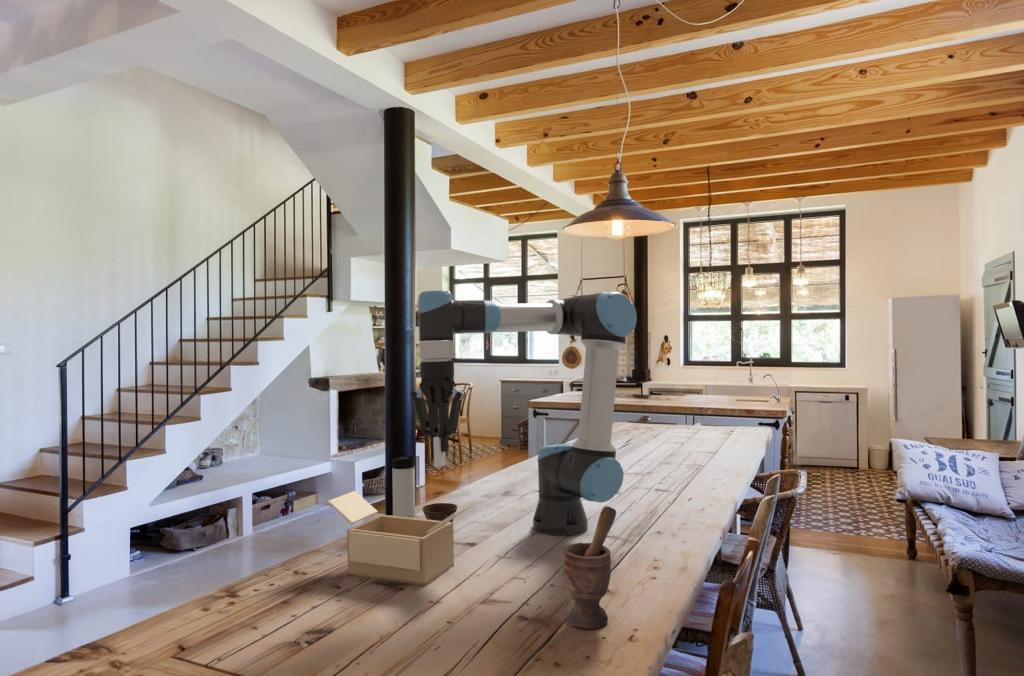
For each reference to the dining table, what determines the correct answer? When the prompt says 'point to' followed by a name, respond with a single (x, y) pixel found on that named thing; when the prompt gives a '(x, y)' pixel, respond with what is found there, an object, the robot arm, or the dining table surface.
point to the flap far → (352, 507)
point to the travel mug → (404, 486)
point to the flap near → (451, 517)
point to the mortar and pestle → (589, 575)
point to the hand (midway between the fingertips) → (440, 465)
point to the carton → (400, 549)
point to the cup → (439, 511)
